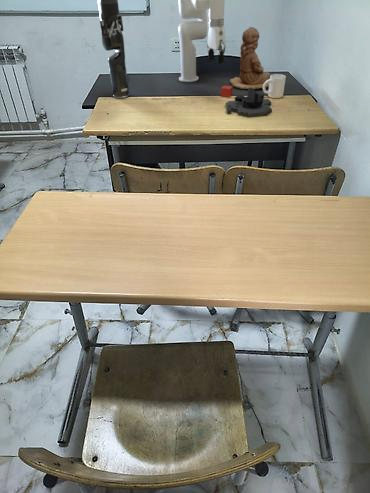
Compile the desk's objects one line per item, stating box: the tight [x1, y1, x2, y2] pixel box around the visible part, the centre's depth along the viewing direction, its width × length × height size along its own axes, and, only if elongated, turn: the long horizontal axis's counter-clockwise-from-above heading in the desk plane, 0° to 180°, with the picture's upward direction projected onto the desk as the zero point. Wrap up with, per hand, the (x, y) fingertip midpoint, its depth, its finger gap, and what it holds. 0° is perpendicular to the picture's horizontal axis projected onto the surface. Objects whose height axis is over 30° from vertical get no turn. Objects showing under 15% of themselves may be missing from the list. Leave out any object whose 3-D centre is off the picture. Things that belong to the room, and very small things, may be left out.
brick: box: [220, 85, 234, 98], centre depth 201 cm, size 5×5×4 cm
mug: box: [262, 73, 287, 99], centre depth 195 cm, size 12×8×10 cm
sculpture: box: [229, 26, 271, 90], centre depth 208 cm, size 27×24×30 cm
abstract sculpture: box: [224, 88, 273, 118], centre depth 181 cm, size 25×9×20 cm
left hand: (114, 45), depth 160 cm, fingers open, 8 cm apart
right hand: (215, 61), depth 185 cm, fingers open, 9 cm apart
